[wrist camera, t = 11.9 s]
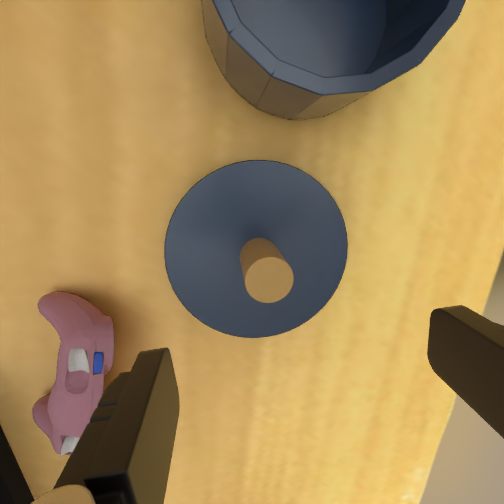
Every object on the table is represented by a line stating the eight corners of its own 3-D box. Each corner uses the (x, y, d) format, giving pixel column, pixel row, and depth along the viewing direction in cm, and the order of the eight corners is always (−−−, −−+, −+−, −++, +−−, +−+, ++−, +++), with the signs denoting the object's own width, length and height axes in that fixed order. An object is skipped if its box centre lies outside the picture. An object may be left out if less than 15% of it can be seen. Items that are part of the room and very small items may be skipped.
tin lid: (151, 170, 18) (122, 170, 13) (340, 151, 19) (386, 143, 14) (183, 341, 22) (171, 396, 16) (342, 318, 23) (380, 363, 17)
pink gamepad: (101, 393, 24) (114, 470, 18) (32, 407, 21) (23, 502, 16) (114, 283, 22) (134, 335, 16) (39, 284, 19) (31, 346, 14)
